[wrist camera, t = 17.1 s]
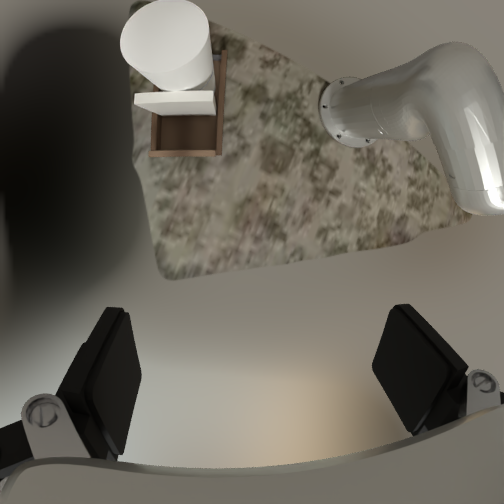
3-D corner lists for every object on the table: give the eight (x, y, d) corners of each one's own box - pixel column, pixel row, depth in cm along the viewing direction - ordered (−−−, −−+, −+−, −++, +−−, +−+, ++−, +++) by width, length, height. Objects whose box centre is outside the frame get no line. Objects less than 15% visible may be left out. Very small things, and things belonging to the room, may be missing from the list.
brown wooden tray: (226, 57, 40) (228, 40, 32) (221, 154, 45) (221, 156, 37) (161, 58, 38) (150, 43, 30) (156, 154, 44) (142, 157, 36)
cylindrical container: (213, 109, 42) (203, 73, 19) (168, 108, 41) (114, 75, 18) (218, 68, 40) (214, -2, 16) (173, 67, 39) (128, 2, 16)
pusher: (216, 108, 42) (213, 90, 27) (216, 115, 42) (212, 101, 27) (163, 109, 41) (134, 93, 26) (163, 116, 41) (134, 104, 26)
